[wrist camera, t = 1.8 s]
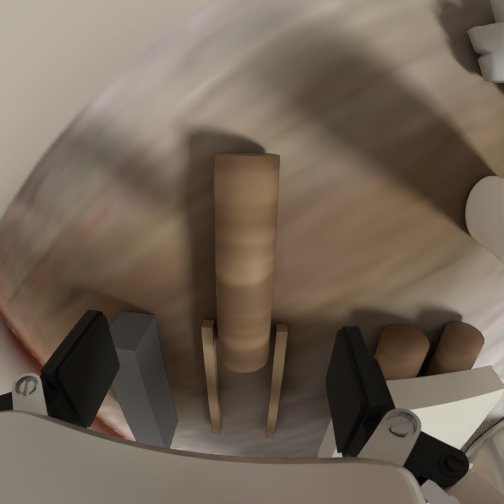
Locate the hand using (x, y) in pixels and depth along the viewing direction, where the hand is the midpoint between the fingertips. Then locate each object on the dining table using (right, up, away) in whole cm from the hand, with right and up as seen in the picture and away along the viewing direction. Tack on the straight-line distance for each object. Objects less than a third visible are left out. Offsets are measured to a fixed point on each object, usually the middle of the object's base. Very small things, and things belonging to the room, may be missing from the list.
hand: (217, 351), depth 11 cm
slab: (+14, -10, +9) cm, 20 cm away
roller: (+1, +3, +9) cm, 10 cm away
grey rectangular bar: (-8, -7, +14) cm, 18 cm away
